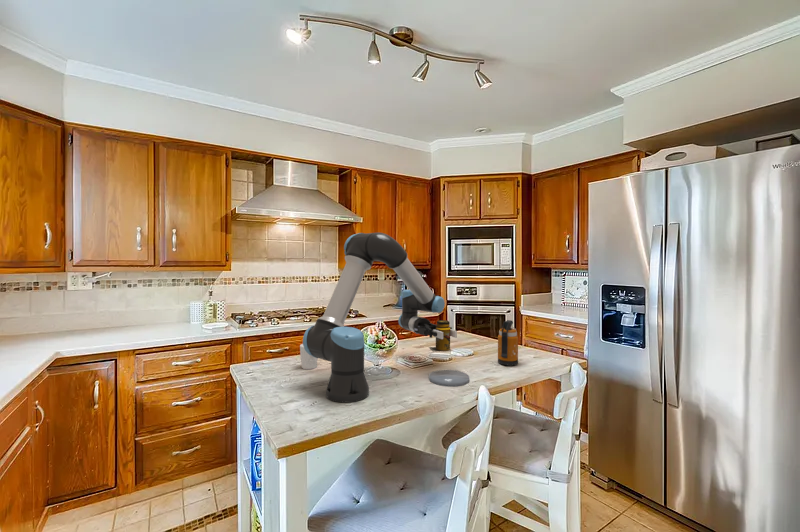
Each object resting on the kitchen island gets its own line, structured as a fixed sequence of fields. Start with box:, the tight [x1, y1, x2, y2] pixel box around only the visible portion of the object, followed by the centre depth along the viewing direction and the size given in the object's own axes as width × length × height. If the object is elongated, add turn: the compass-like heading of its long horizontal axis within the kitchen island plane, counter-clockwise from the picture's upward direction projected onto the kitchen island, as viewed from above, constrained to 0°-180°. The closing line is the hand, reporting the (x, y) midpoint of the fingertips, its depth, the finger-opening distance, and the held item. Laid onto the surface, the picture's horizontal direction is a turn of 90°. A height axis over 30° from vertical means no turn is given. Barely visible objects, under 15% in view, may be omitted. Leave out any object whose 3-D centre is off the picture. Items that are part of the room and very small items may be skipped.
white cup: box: [299, 343, 319, 370], centre depth 167 cm, size 8×8×10 cm
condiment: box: [428, 319, 453, 353], centre depth 156 cm, size 7×8×12 cm
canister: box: [497, 319, 519, 367], centre depth 172 cm, size 9×11×20 cm
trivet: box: [428, 369, 470, 387], centre depth 151 cm, size 16×16×2 cm
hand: (449, 335), depth 152 cm, fingers closed on condiment, 6 cm apart
